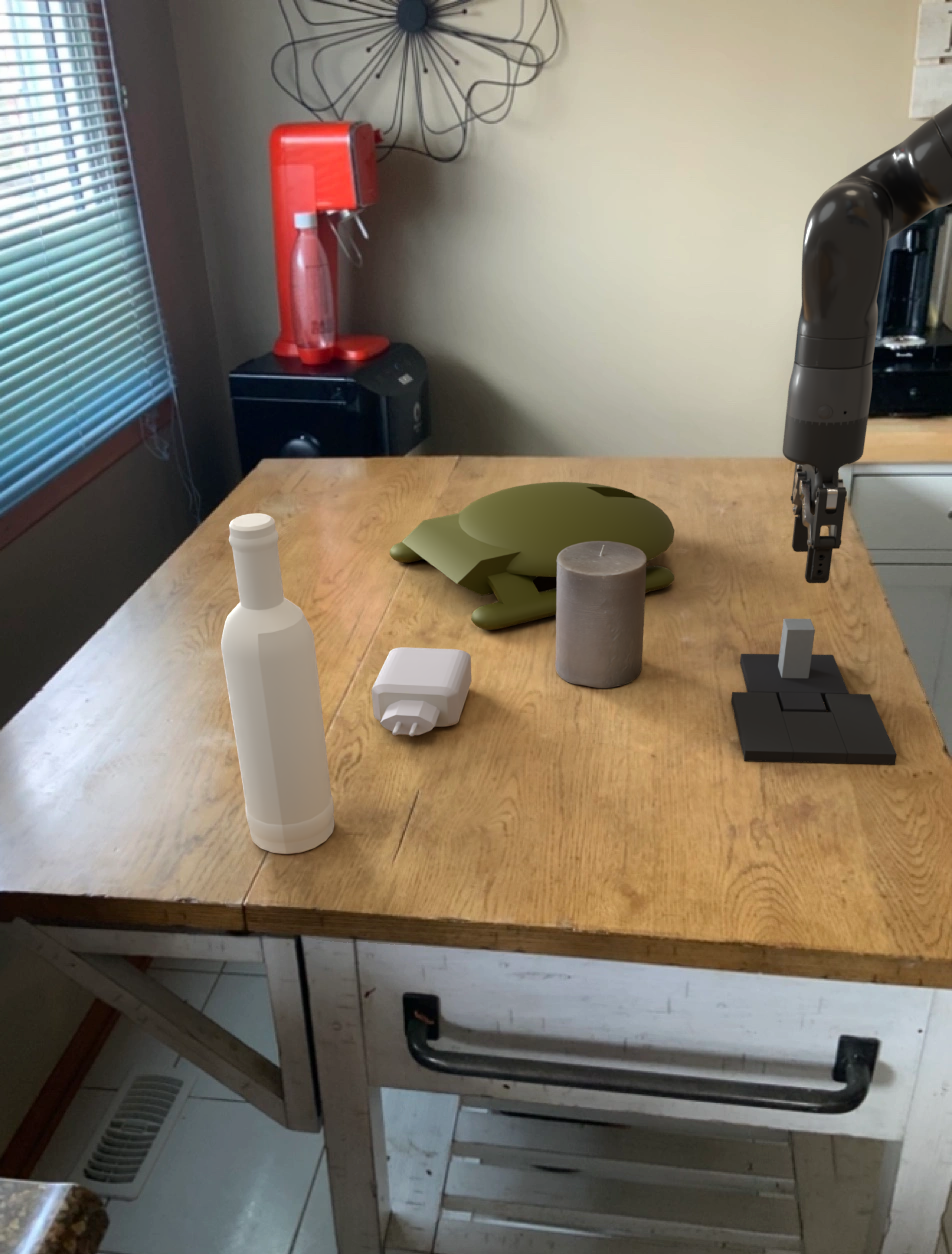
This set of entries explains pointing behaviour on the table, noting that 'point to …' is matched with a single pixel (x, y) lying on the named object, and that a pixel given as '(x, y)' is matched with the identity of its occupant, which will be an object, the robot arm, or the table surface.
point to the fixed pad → (812, 730)
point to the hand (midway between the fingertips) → (809, 565)
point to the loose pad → (794, 687)
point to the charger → (421, 689)
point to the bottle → (275, 699)
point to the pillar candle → (600, 613)
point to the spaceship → (533, 542)
